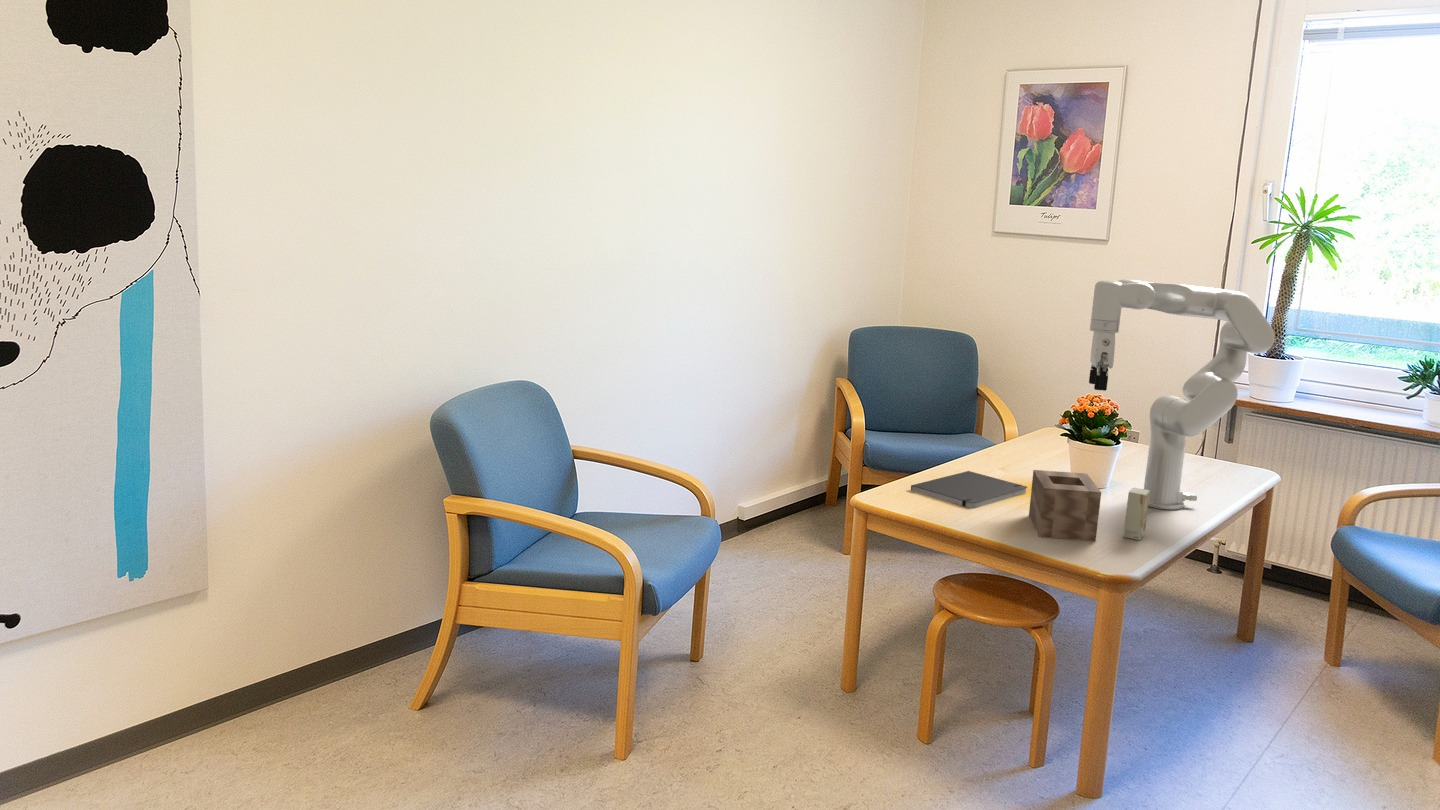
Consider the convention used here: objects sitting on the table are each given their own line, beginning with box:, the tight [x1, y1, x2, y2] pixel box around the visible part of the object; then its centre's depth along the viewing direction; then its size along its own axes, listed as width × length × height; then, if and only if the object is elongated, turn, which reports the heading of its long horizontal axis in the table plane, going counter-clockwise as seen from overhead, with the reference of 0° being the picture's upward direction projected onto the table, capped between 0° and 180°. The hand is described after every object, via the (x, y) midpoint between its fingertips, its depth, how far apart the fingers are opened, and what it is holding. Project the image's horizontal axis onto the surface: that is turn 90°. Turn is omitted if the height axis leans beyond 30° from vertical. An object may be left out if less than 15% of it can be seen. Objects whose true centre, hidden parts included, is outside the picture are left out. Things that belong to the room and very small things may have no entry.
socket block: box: [1028, 469, 1102, 542], centre depth 271 cm, size 14×18×13 cm
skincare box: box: [1122, 487, 1150, 541], centre depth 266 cm, size 6×4×12 cm
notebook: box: [910, 470, 1028, 509], centre depth 303 cm, size 22×2×28 cm
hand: (1097, 386), depth 287 cm, fingers open, 9 cm apart
